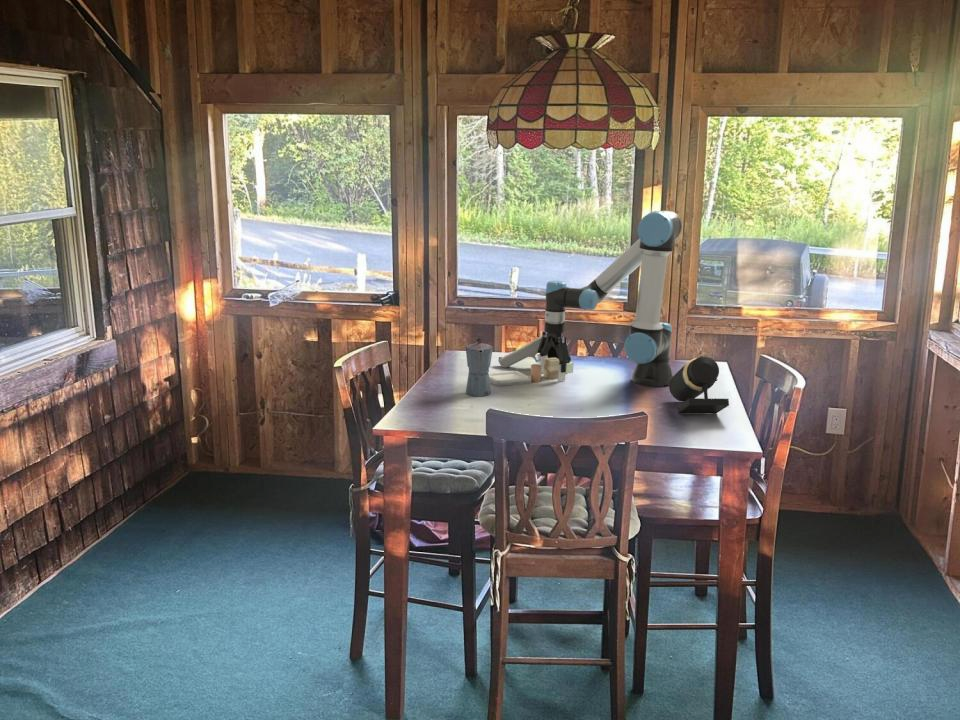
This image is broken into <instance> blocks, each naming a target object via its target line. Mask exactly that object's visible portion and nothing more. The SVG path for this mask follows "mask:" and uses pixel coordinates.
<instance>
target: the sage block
mask: <svg viewBox="0 0 960 720" xmlns="http://www.w3.org/2000/svg"><path fill="white" fill-rule="evenodd" d="M568 373H569V374H572V373H574V361H573V362H572V361H571V362H570V363H567V364H566V372H565V375H569V374H568Z"/></svg>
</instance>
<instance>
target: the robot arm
mask: <svg viewBox="0 0 960 720" xmlns="http://www.w3.org/2000/svg"><path fill="white" fill-rule="evenodd" d="M682 228H683V223H682V220H681V218H680V216H679V215H678V214H677V213H676V212H674V211H672V210H668V209H662V210H655V211H652V212H649V213H648V214H645V216H643V217H642V218H641V220H640V221H639V224H638V227H637V235H638V237H639V238H638V239H637V240H636V241H635V242H634V243H633V244H632V245H631V246H629V248H627V249H626V250H625V251H624V252H623V253H622V254H621V255H619V257H618V258H617V259H615V260H614V261H613V262H612V263H611V264H610V265H608V267H607V268H605V269H603V271H602V272H601V273H600V274H599V275H598V276H596V278H595V279H593V280H592V281H591V282H590V283H589V284H588V285H586V286H583V287H581V288H578V287H577V288H576V287H568V286H567V282H566V281H563V280H550V281H548V282H547V283H546V287H545V309H544V310H545V312H544V320H545V322H544V331H542V334H541V336H542V339H541V342H540V345H539V348H538V353H537V354H539V355H540V358H541V360H540V364H539V365H542V369H541V374H544V359H545V358H548V356H545V355H547V353H548V351H549V350H550V348H551V346H552V347H554V349H555V350H556V353H557V355H558V358H559V361H560V363H559V367H558V378H557V381H558V382H561V381H562V382H563V381H566V374H565V372H566V364H567V363H570V360H569V356H570V355H569V350H568V346H567V338H566V337H565V336H563V337H562V334H563V333H564V332H565V324H566V323H565V321H566V309H577V310H582V311H592V310H595V309H596V307H597V306H598V304H600V303H601V302H602V301H604V300H605V298H606V297H607V295H608V294H610V292H612V291H613V290H614V289H615V288H616V287H617V286H619V285H620V284H621V283H622V282H623V281H625V279H626V278H628V276H630V275H631V274H632V273H633V272H634V271H635V270H636V269H638V268H639V267H640V266H641V267H640V277H639V284H638V292H637V301H636V309H635V310H636V311H635V319H634V320H633V321H632V322H631V323H630V325H629V332H628V336H627V337H626V339H625V341H624V344H623V345H624V352H625V355H626V357H627V358H628V359H630V361H632V362H634V363H636V365H635V368H634V371H633V372H632V376H631V377H632V378H631V380H632V382H633V383H635V384H637V385H641V386H646V385H647V387H665V386H664V385H668V386H669V383H670V380H671V378H672V377H673V376H674V375H673V372H672V369H671V365H670V357H671V356H670V355H671V344H672V343H671V342H672V334H673V332H672V325H671V323H668V322H661V321H660V320H661V319H660V318H661V310H662V305H663V294H664V286H665V280H666V279H665V278H666V272H667V271H666V270H667V264H668V263H667V262H668V256H670V255H671V254H672V253H673V250H674V244H675V243H674V242H675V240H676V239H677V238H678V237H679V236H680V235H681V232H682ZM541 349H542V350H541Z"/></svg>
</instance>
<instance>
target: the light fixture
mask: <svg viewBox="0 0 960 720" xmlns="http://www.w3.org/2000/svg"><path fill="white" fill-rule="evenodd" d="M719 374H720V368H719V365H718V363H717V362H716V360H715V359H714V358H711V357H710V356H705V355H700V356H699V357H695V358H693V359H690V360H689V361H688V362H686V363H685V364H684V365H683V366H682V367H681V368H680V369H679V370H678V371H677V372H676V373H675V374H674V375H672V376H673V377H672V378H671V380H670V383H669V385H668V388H669V389H668V390H669V392H670V394H671V396H672V397H673V398H674V399H676V400H677V401H679V402H682V401H685V402H682V403H681V404H680V405H679V406H677V414H681V413H716V414H718V413H720V412H721V411H723V410H724V409H726V408H727V407H729V406H730V401H729V398H709V396H708V390H709V389H711V388H712V387H713V385H714V384H715V383H716V382H717V381H718V377H719ZM702 394H703V398H698V397H699V396H701V395H702Z"/></svg>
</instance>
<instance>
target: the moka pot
mask: <svg viewBox="0 0 960 720" xmlns="http://www.w3.org/2000/svg"><path fill="white" fill-rule="evenodd" d="M493 350H494V347H493V346H492V345H491V344H490V343H489V344H488V343H483V342H482V338H477V339H476V341H475V343H470V344H468V345H466V346H465V354H466V355H465V356H466V361H467V367H468V375H467V381H466V386H465V387H466V390H465V393H466V395H468V396H472V397H478V396H481V397H487V396H489V395H491V394H492V390H491V389H492V388H491V382H490V380H489V373H490V367H491V363H492V355H493Z"/></svg>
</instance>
